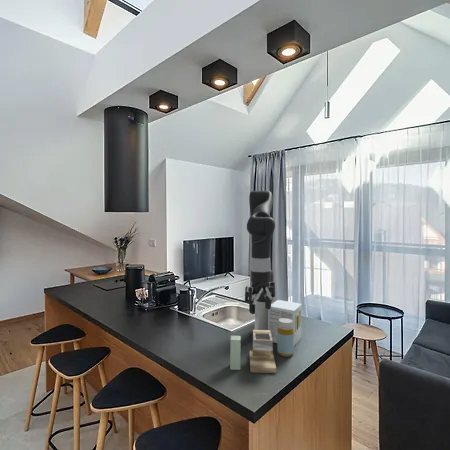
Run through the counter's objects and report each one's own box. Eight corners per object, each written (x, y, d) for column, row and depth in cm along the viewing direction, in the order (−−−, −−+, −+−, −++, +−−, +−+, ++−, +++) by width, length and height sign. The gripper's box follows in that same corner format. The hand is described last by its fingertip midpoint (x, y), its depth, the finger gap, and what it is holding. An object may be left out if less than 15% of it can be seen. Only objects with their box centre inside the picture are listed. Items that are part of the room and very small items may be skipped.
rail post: (230, 364, 118) (230, 335, 118) (240, 364, 118) (240, 335, 118) (230, 369, 114) (230, 339, 114) (240, 369, 114) (240, 340, 114)
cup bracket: (249, 355, 126) (249, 328, 126) (272, 355, 126) (272, 328, 125) (250, 372, 112) (250, 341, 112) (276, 373, 112) (276, 342, 111)
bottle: (274, 353, 128) (274, 320, 127) (283, 348, 133) (283, 316, 132) (287, 359, 123) (288, 324, 122) (296, 353, 128) (296, 320, 127)
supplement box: (293, 347, 133) (294, 310, 133) (267, 341, 140) (267, 306, 140) (301, 337, 145) (302, 303, 144) (277, 332, 152) (277, 299, 151)
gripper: (265, 265, 117) (265, 305, 117) (240, 270, 107) (240, 312, 108) (280, 268, 111) (280, 309, 111) (254, 273, 102) (254, 318, 102)
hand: (260, 311), depth 110 cm, fingers open, 8 cm apart
